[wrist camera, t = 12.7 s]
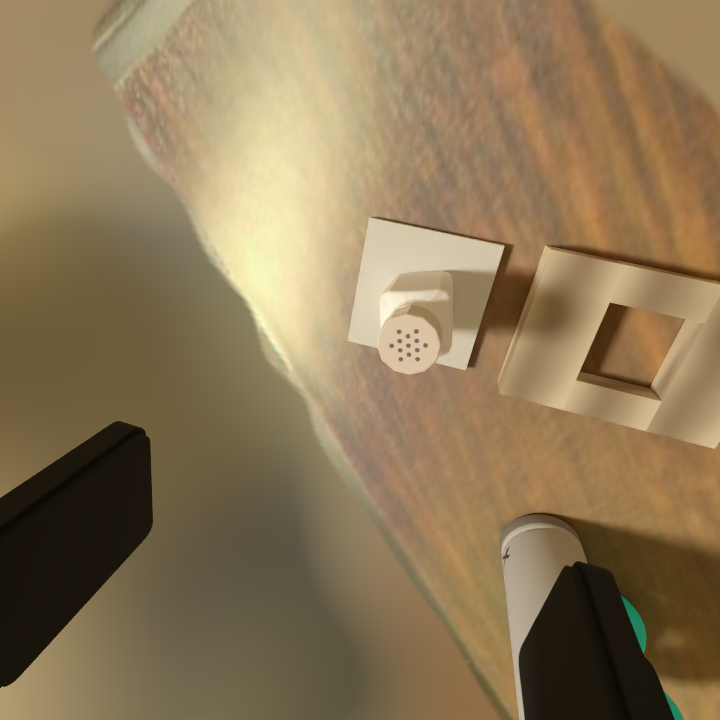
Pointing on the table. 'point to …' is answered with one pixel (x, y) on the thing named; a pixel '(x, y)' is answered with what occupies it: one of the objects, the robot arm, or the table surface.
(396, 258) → the beige mat
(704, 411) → the socket block
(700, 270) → the table surface
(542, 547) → the travel mug
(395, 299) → the pepper shaker
